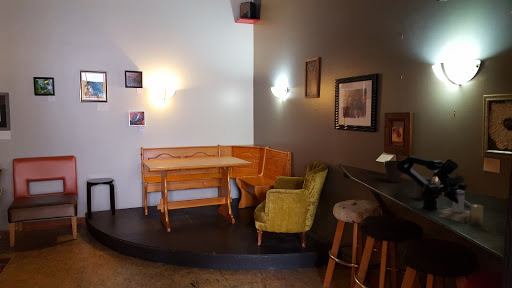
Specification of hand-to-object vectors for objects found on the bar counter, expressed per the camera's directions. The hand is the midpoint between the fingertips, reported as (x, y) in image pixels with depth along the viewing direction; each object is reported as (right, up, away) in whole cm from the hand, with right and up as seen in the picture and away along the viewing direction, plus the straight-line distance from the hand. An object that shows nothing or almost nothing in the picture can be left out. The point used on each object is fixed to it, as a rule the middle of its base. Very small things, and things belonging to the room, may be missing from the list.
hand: (460, 202), depth 214 cm
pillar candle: (-2, -4, +45) cm, 45 cm away
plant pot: (-2, +2, +98) cm, 98 cm away
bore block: (0, -8, +2) cm, 9 cm away
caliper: (+17, -6, +26) cm, 32 cm away
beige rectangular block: (+2, -10, -10) cm, 14 cm away
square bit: (-1, -6, +2) cm, 7 cm away
